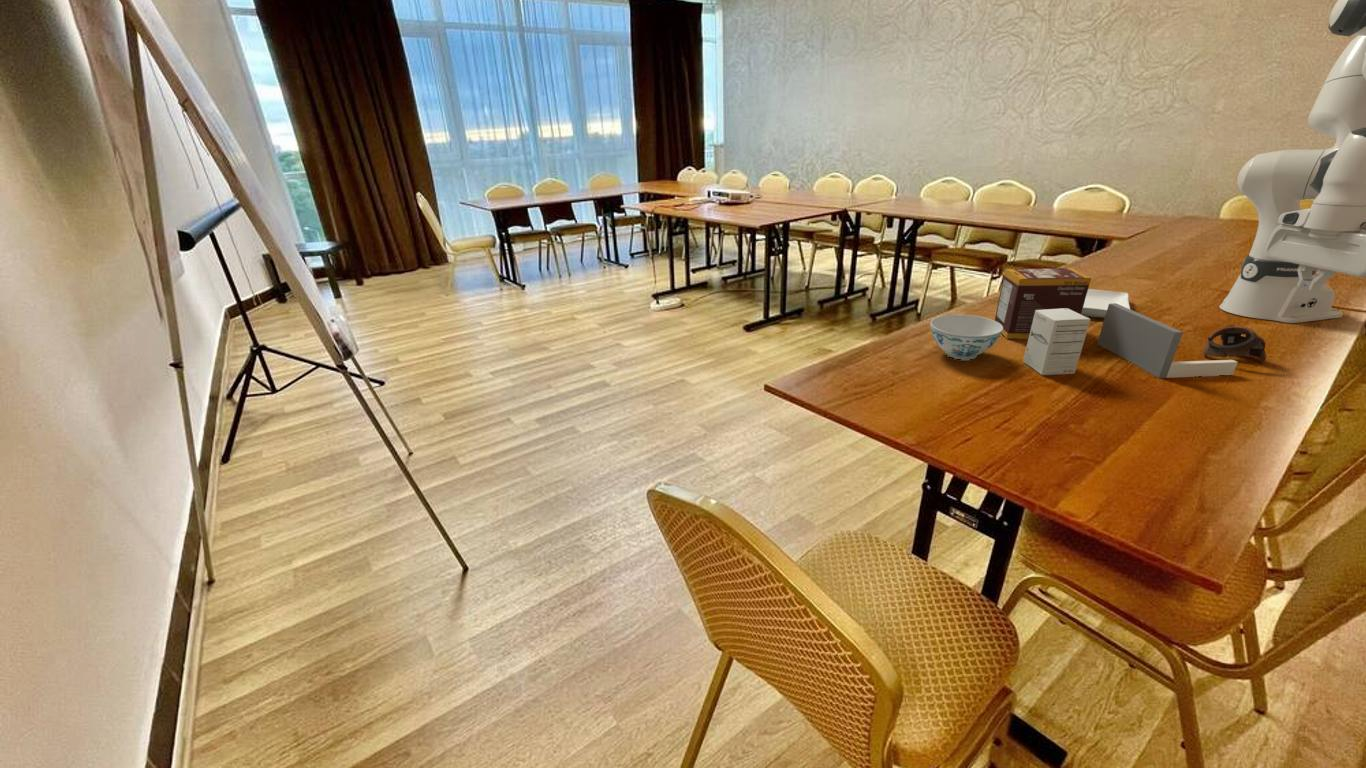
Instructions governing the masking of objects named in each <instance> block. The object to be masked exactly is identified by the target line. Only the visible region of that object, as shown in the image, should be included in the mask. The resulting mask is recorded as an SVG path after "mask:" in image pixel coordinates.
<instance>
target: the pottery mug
mask: <svg viewBox="0 0 1366 768" xmlns="http://www.w3.org/2000/svg"><path fill="white" fill-rule="evenodd" d="M1219 336H1220V339H1221V342H1222V343H1221V344H1219V343H1216V342H1215V341H1214V339H1215V338H1217V337H1219ZM1265 348H1266V341H1265V339H1264V338H1263V337H1262V336H1261V335H1260V334H1258V333H1256V331H1255V330H1254V329H1252V328H1249V327H1247V326H1242V325H1235V324H1231V325H1226V326H1225V327H1221V328H1219V329H1216V330H1214V331H1213V332H1211V333H1209V335H1208V337H1207V341H1206V342H1205V345H1204V347H1203V349H1202V355H1203V357H1204V358H1207V357H1208V356H1211V357H1219V358H1220V357H1221V358H1226V357H1230V358H1231V357H1232V358H1233V357H1239V356H1240V357H1241V356H1244V357H1247V358H1250V356H1252V357H1256V358H1258V359H1259V360H1260V362H1262V363H1264V364H1265V362H1266V359H1267V353H1266V351H1265ZM1262 363H1261V364H1262Z"/></svg>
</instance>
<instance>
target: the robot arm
mask: <svg viewBox="0 0 1366 768" xmlns="http://www.w3.org/2000/svg"><path fill="white" fill-rule="evenodd" d="M1328 22H1329V23H1328V28H1327V29H1328V30H1329V32H1331V34H1333V35H1337V36H1342V37H1351V36H1355V37H1354V38H1353V39H1352V40H1351V41H1350V42H1349V43H1348V44H1347V45H1346V47H1345V48H1344V50H1343V51H1342V52H1341V53H1340V56H1339V57H1338V58H1337V60H1336V61H1335V63H1334V64H1333V66H1332V67H1331V69H1330V71H1329V72H1328V74H1327V76H1326V79H1325V81H1324V83H1323V85H1322V87H1321V88H1320V91H1319V93H1318V95H1317V97H1316V99H1315V102H1314V104H1313V106H1312V108H1311V110H1310V112H1309V115H1308V117H1307V123H1308V125H1309V127H1310V128H1311V129H1312V130H1313V131H1315V132H1317V133H1320V134H1322V135H1325V136H1327V137H1329V138H1332V139H1333V140H1334V141H1335V143H1334V146H1333V147H1330V148H1318V149H1317V148H1314V149H1313V148H1311V149H1310V148H1309V149H1307V148H1306V149H1282V150H1276V151H1275V150H1274V151H1269V152H1262V153H1258V154H1257V155H1255V156H1253V157H1252V158H1250V159H1249V160H1248V161H1247V162H1246V163H1245V164H1244V165H1243V166H1242V168H1241V169H1240V170H1239V173H1238V174H1237V180H1236V182H1237V187H1238V189H1239V191H1240V193H1241V194H1243V195H1244V196H1245V197H1247V199H1249V200H1250V201H1251V203H1252V204H1253V205H1254V207H1255V210H1256V211H1257V215H1258V226H1257V230H1256V234H1255V237H1254V241H1253V244H1252V246H1251V249H1250V252H1249V254H1247V255H1246V256H1245V257H1244V259H1243V262H1242V266H1241V271H1240V274H1239V276H1238V277H1237V278H1236V281H1235V282H1234V283H1233V285H1232V288H1231V289H1230V291H1229V292H1228V294H1227V296H1226V297H1225V298H1223V302H1222V303H1221V304H1220V305H1219V309H1221V310H1222V311H1225V312H1226V313H1230V314H1233V315H1237V316H1242V317H1245V318H1247V317H1248V318H1251V319H1252V318H1253V319H1258V320H1259V319H1260V320H1268V321H1269V320H1270V321H1275V322H1281V323H1286V324H1297V323H1305V322H1313V321H1321V320H1329V319H1330V320H1331V319H1339V318H1343V315H1344V313H1343V312H1342V311H1341V310H1338V309H1336V308H1333V307H1332V306H1333V304H1334V300H1335V298H1336V296H1335V295H1336V294H1335V291H1334V289H1333V288H1331V287H1330V286H1329V285H1328V284H1326V282H1327V281H1329V279H1331V278H1332V277H1334V276H1335V275H1336V273H1337V274H1344V275H1349V276H1351V277H1352V276H1353V277H1358V278H1366V0H1337V1H1336V2H1335V4H1334V6H1333V8H1332V10H1331V12H1330V15H1329V21H1328ZM1303 200H1304V201H1305V200H1313V201H1312V202H1311V203H1312V204H1311V207H1310V208H1304V209H1302V207H1301V203H1300V202H1301V201H1303Z"/></svg>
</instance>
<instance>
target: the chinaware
mask: <svg viewBox="0 0 1366 768" xmlns="http://www.w3.org/2000/svg"><path fill="white" fill-rule="evenodd" d="M930 330H931V331H930V332H931V335H932V339H933V340H934V341H935V344H937V346H938V347H939V348H940V349H941V350H942V351H944V352H945V353H946V354H947V355H949V356H950V357H953V358H956V359H961V360H960V361H971V360H970V359H973V360H975V359H976V358H977V357H978V356H979V355H981V354H984V353H985V352H987V351H988V350H990V349H991V348H992V347H993V346H994V345H995V344H996V343H997V342H998V341H999V339H1000V337H1001V335H1002V334H1001V333H1002V331H1003V326H1002V325H1001V324H1000V323H998V322H996V321H995V319H991V318H989V317H988V318H987V317H984V316H980V315H970V314H947V315H946V314H945V315H939V316H936V317H935V318H933V319H932V320H931V321H930ZM946 354H945V355H946ZM974 358H975V359H974ZM956 359H955V360H956Z"/></svg>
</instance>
